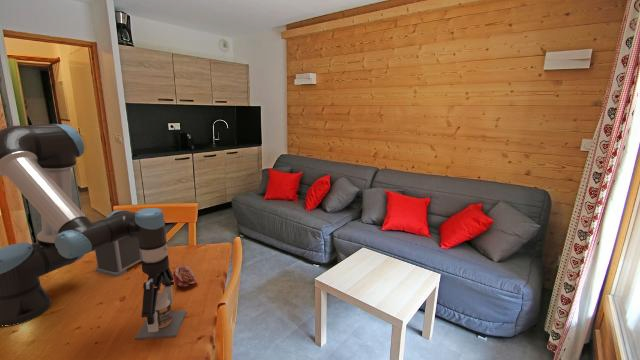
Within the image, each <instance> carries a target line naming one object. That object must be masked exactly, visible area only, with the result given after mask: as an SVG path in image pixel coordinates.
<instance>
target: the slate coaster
mask: <svg viewBox="0 0 640 360" xmlns="http://www.w3.org/2000/svg"><path fill="white" fill-rule="evenodd" d="M187 312H188V310H186V309H185V310H183V309H182V310H173V311H172V310H171V316H172V321H171V323H170V324H169V325H167V326H166V327H163V328H158V329H159V330H158V332H148V326H147V319H145V320H144V323H143V324H142V326H141V327H140V329H139V330H138V332H137V334H136V335H135V337H134V340H135V341H136V340H149V339H161V338H163V339H164V338H175V337H177V335H178V333H179V331H180V329H181V325H182V323H183V322H184V320H185V317H186V314H187Z"/></svg>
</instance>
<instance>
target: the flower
mask: <svg viewBox="0 0 640 360" xmlns="http://www.w3.org/2000/svg"><path fill="white" fill-rule="evenodd" d="M172 272H173V273H172V275H173V278H174V279H173V282H174V285H173V286H176V287H178V286H180V288H184V289H186V287H189V286H190V285H189V284H191V285H193V284H195V283H196V282H198V279H197V278H196V277H195V274H196V273H194V272H193V270H192V268H191V267H190V266H189V265H188V264H187V265H183V264H181V265H179V264H178V266H177V265H176V267H175V269H174V270H173V271H172Z"/></svg>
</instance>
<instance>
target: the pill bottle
mask: <svg viewBox="0 0 640 360" xmlns="http://www.w3.org/2000/svg"><path fill="white" fill-rule="evenodd" d="M171 311H172V308H171V304H170V301H169V300H168V295H167V294H166V293H163V292H158V295H157V301H156V307H155V312H156V313H157V321H158V328H163V327H166V326H167V325H169V324H170V323H171V321H172V316H171Z"/></svg>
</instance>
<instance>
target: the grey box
mask: <svg viewBox="0 0 640 360" xmlns="http://www.w3.org/2000/svg"><path fill="white" fill-rule="evenodd" d="M94 254H95V258H96V264H97V266H96V267H95V268H94V269H95V273H98V274H101V275H105V276H110V277H114V278H118V277H120V276H122V275H124V274H126V273H128V272H127V271H128V270H127V269H129V268H131V267H132V266H135V265H136V264H138V263H141V261H142V260H141V259H140V251H139V242H138V238H132V237H125V238H123V239H120V240H118V241H115V242H113V243H110V244H108V245H105V246H102V247H100V248H98V249H95V250H94Z"/></svg>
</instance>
